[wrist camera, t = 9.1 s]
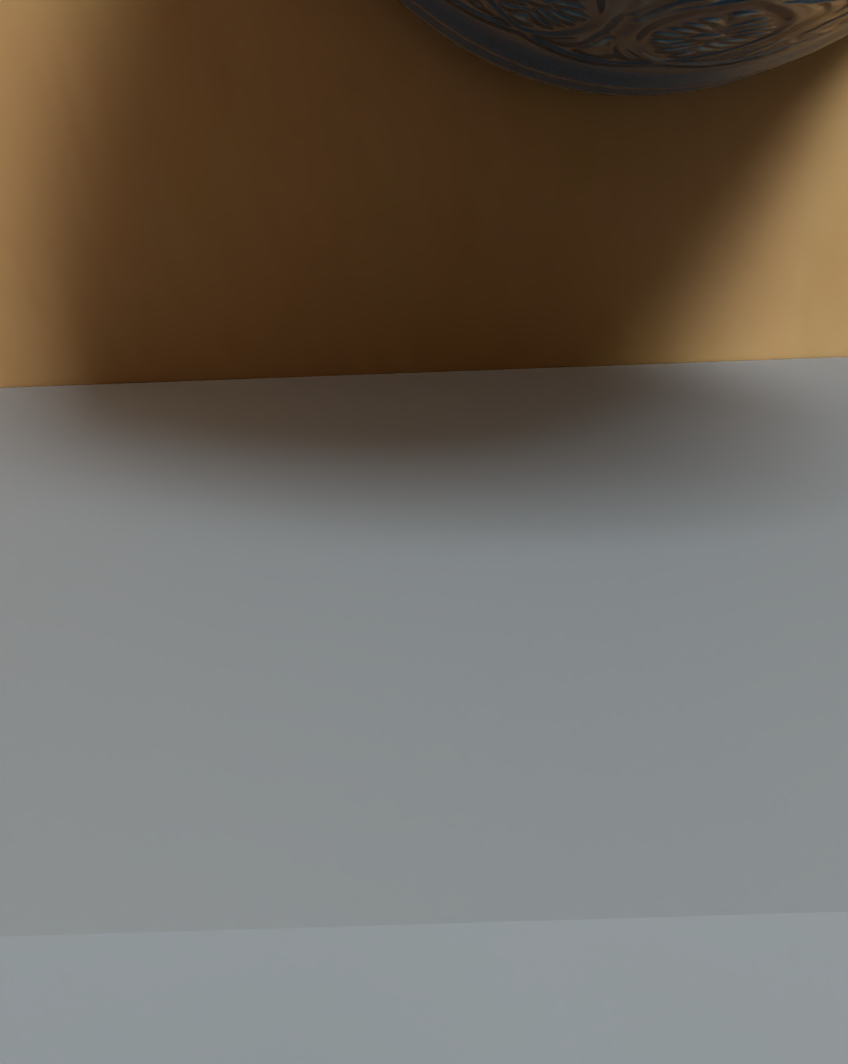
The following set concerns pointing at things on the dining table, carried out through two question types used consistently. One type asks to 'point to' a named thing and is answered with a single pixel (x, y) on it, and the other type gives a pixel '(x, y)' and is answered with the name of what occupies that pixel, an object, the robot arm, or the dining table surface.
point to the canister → (636, 39)
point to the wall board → (427, 718)
